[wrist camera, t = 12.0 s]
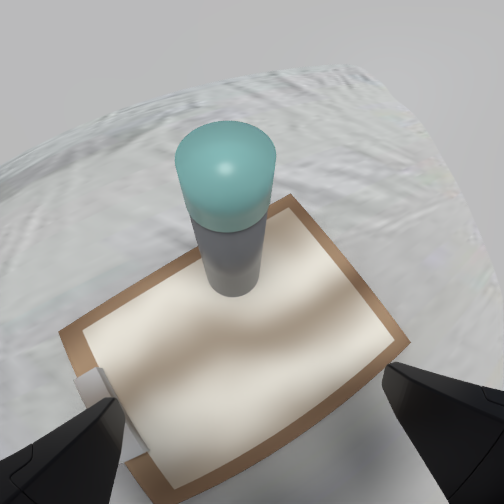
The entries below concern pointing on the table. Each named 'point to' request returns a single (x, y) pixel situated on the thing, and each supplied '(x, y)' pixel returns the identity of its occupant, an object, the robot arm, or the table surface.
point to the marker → (228, 199)
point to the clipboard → (231, 357)
